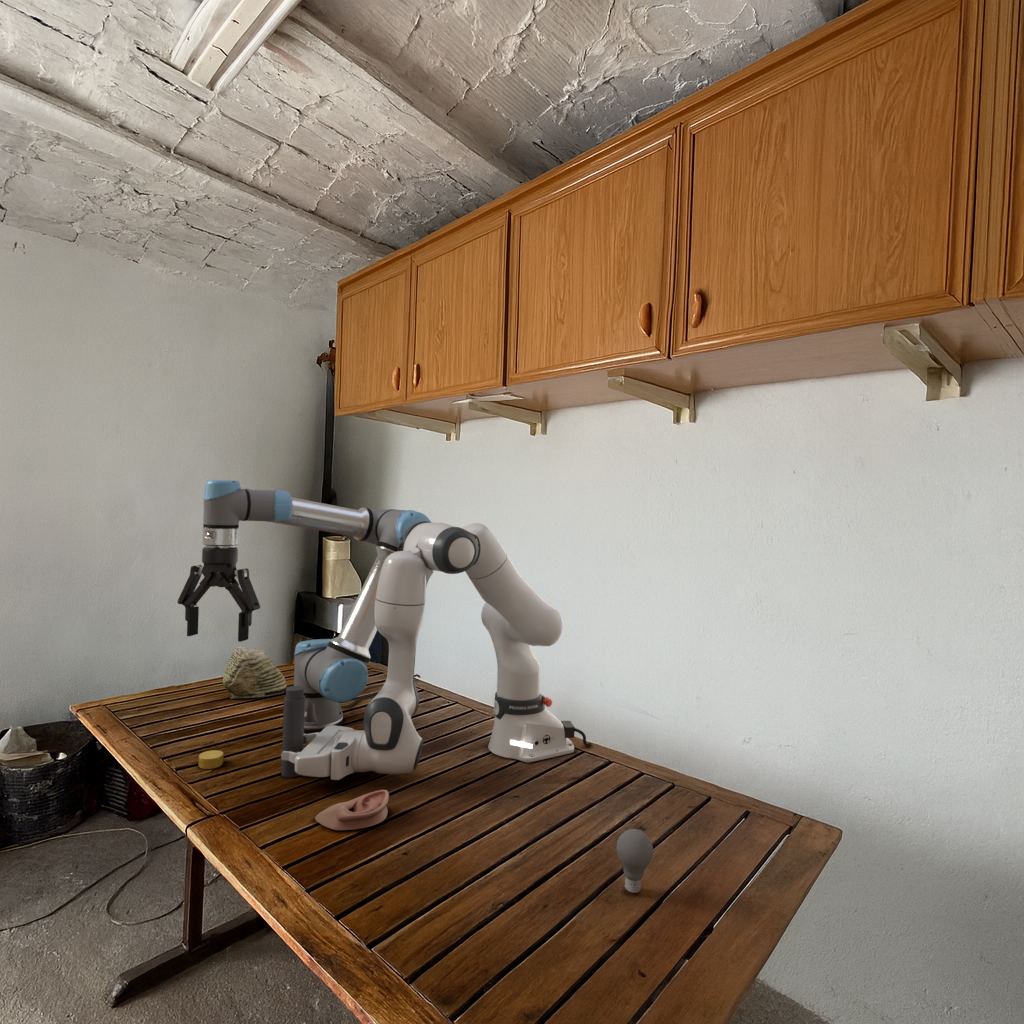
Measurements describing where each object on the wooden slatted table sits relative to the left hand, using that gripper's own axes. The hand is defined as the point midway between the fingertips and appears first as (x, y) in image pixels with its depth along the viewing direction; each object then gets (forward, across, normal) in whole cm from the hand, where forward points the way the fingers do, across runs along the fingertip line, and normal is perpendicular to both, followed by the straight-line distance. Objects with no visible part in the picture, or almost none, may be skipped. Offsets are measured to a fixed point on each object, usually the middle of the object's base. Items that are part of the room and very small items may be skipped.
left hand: (217, 637), depth 147 cm
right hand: (+23, +19, +1) cm, 30 cm away
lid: (+28, 0, 0) cm, 28 cm away
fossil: (+30, -22, +47) cm, 60 cm away
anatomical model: (+30, +42, -12) cm, 53 cm away
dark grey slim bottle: (+30, +20, +1) cm, 36 cm away
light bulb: (+30, +97, -20) cm, 103 cm away
